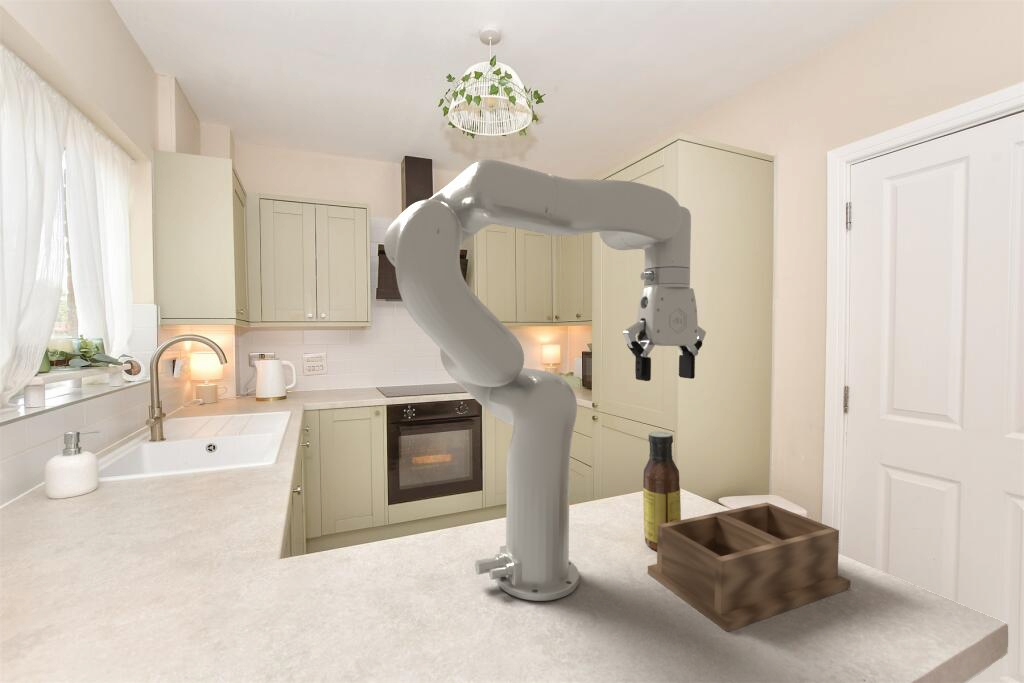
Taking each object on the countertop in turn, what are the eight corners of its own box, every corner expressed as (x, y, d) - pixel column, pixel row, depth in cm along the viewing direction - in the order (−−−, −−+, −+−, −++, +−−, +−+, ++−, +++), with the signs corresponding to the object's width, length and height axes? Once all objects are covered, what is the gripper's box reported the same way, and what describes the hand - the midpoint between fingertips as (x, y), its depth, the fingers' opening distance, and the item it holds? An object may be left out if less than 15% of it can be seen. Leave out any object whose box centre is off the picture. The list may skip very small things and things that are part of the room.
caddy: (727, 631, 58) (728, 567, 58) (647, 573, 72) (648, 521, 72) (850, 588, 69) (851, 533, 68) (759, 544, 82) (760, 499, 82)
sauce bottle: (675, 538, 84) (678, 430, 84) (685, 555, 78) (687, 438, 77) (639, 536, 85) (641, 429, 84) (645, 553, 79) (647, 437, 78)
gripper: (641, 275, 73) (639, 383, 74) (721, 280, 80) (719, 379, 81) (612, 280, 80) (611, 378, 81) (688, 284, 87) (687, 375, 88)
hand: (665, 378), depth 81 cm, fingers open, 9 cm apart
